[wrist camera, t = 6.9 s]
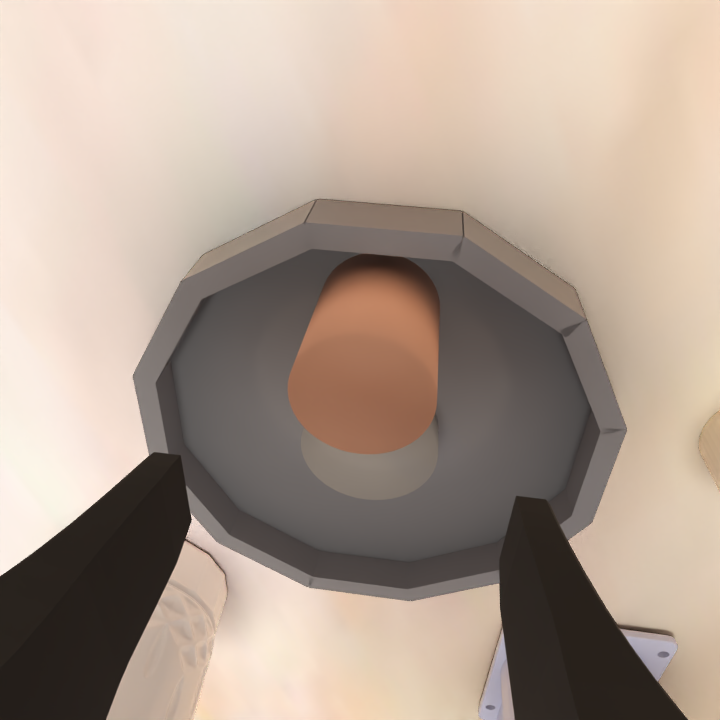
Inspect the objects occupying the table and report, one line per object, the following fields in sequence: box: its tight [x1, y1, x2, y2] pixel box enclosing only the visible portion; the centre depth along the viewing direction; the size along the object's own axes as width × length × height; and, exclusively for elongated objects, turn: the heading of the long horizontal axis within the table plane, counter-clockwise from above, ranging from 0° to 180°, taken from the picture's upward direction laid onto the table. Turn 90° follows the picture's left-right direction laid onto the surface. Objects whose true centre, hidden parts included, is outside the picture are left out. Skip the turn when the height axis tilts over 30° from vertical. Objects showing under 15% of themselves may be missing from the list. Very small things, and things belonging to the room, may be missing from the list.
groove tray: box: [133, 199, 627, 601], centre depth 23 cm, size 17×17×2 cm
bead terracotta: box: [288, 253, 440, 454], centre depth 18 cm, size 4×4×5 cm
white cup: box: [106, 541, 227, 720], centre depth 27 cm, size 8×8×10 cm
